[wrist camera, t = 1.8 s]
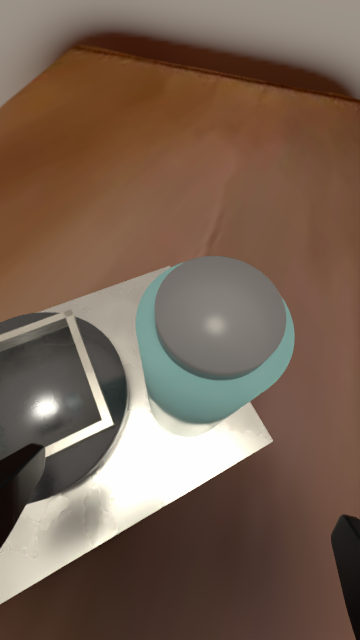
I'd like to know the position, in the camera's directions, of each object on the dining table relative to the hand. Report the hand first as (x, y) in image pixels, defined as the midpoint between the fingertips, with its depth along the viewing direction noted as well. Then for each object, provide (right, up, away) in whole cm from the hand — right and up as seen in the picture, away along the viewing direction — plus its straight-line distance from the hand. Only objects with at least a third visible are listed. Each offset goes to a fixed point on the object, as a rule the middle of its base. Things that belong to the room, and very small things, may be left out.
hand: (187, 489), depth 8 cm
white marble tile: (-7, -1, +13) cm, 15 cm away
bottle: (0, -1, +12) cm, 12 cm away
